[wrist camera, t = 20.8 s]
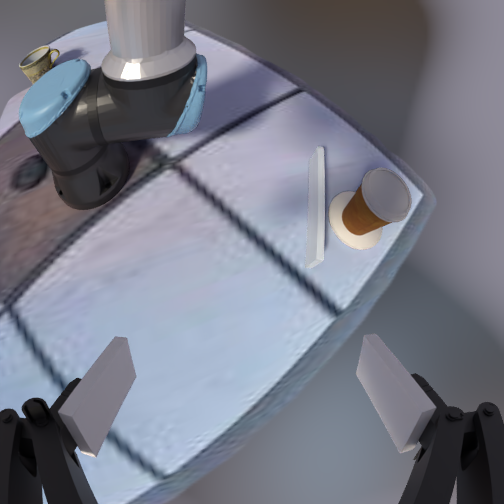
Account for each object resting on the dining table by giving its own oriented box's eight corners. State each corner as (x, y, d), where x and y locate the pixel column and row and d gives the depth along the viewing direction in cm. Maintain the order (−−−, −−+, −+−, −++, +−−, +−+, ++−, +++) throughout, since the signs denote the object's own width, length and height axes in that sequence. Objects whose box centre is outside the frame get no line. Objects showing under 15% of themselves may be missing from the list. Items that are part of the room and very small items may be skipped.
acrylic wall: (311, 268, 46) (323, 260, 41) (304, 267, 46) (316, 259, 41) (314, 162, 53) (323, 147, 48) (309, 160, 53) (317, 146, 48)
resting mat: (322, 191, 51) (323, 190, 50) (372, 193, 53) (373, 192, 53) (336, 252, 48) (337, 251, 47) (387, 247, 50) (388, 247, 50)
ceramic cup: (25, 94, 47) (13, 71, 38) (35, 74, 50) (26, 52, 40) (60, 82, 50) (51, 55, 40) (70, 63, 52) (63, 38, 43)
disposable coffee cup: (352, 189, 52) (383, 156, 41) (383, 225, 51) (420, 199, 40) (324, 214, 49) (355, 181, 38) (358, 254, 48) (398, 230, 37)
